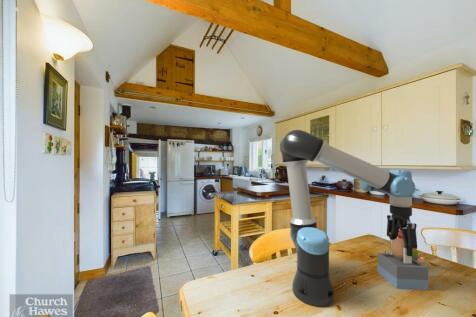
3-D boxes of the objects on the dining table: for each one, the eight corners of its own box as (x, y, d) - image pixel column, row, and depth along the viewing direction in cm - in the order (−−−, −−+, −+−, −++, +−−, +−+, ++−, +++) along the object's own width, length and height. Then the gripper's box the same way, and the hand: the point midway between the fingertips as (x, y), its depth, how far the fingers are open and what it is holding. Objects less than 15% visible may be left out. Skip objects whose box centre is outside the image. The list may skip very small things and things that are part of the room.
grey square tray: (396, 288, 80) (396, 266, 80) (377, 272, 92) (377, 252, 92) (428, 290, 79) (428, 267, 79) (404, 273, 91) (404, 253, 91)
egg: (414, 264, 82) (414, 242, 82) (394, 261, 83) (394, 240, 84) (405, 256, 88) (405, 236, 88) (387, 254, 90) (387, 234, 90)
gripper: (430, 211, 76) (430, 271, 76) (393, 201, 96) (393, 249, 95) (409, 210, 77) (410, 270, 76) (377, 200, 96) (377, 248, 96)
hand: (400, 258), depth 86 cm, fingers closed on egg, 7 cm apart
